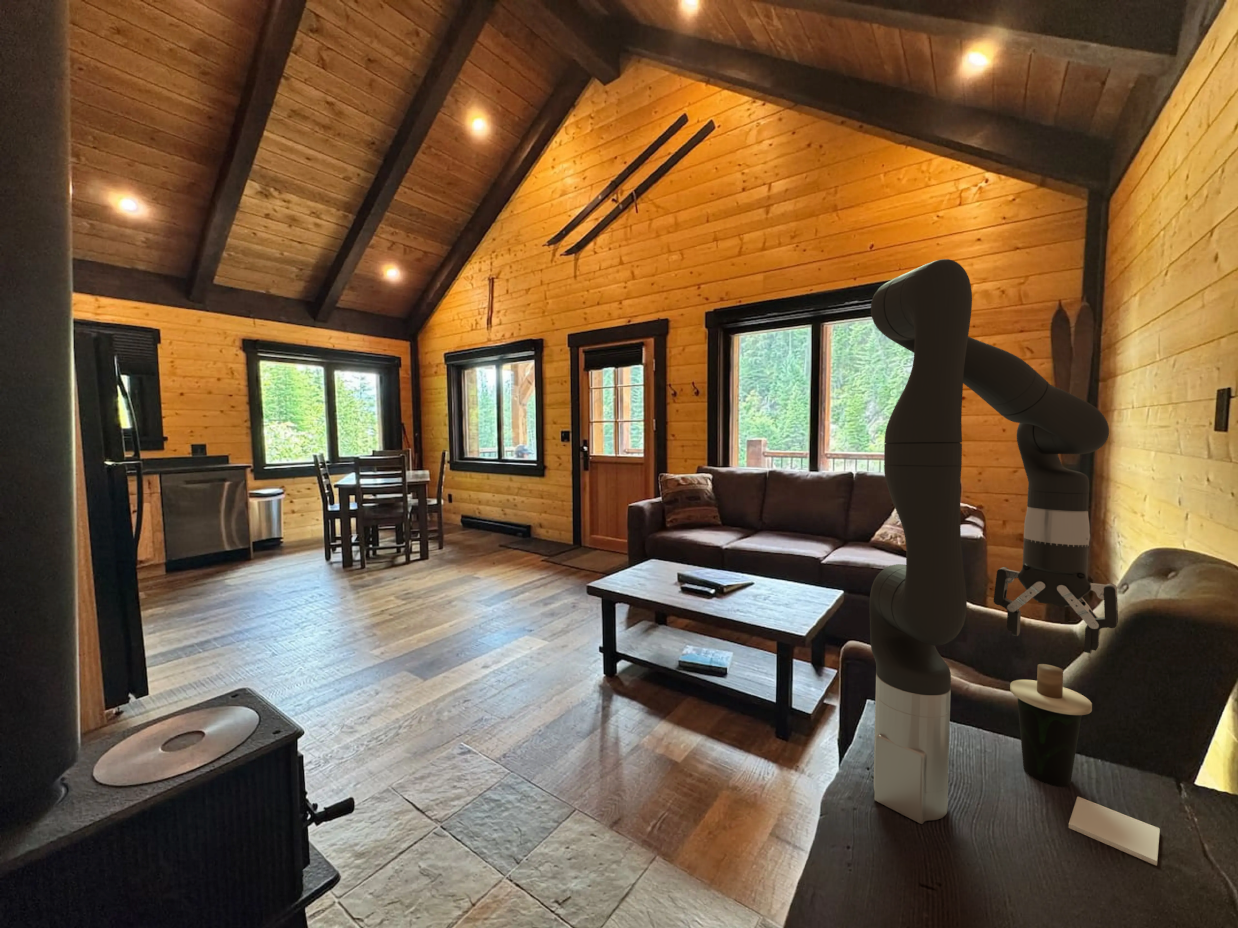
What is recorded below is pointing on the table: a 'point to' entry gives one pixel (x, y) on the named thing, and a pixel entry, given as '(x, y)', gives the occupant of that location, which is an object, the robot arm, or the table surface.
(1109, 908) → the table surface
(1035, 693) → the lid
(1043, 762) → the cup
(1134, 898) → the table surface
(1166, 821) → the table surface
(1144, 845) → the plate
